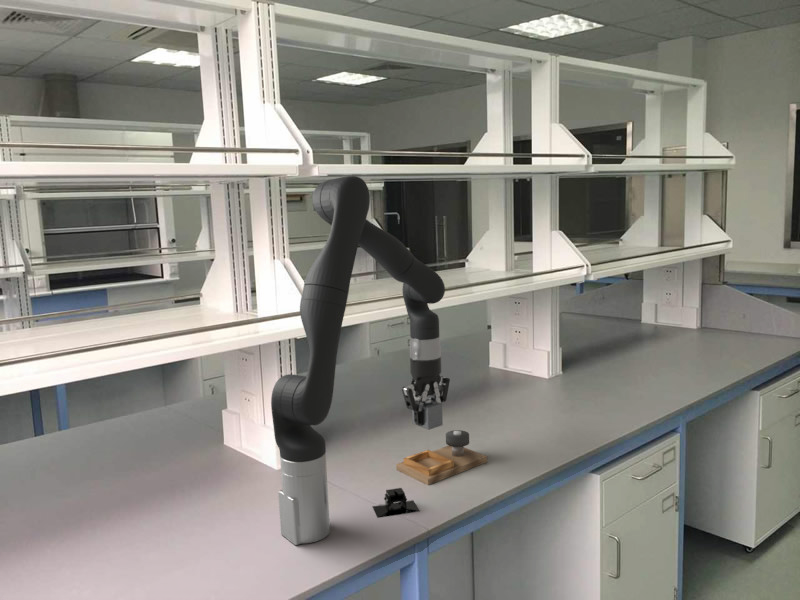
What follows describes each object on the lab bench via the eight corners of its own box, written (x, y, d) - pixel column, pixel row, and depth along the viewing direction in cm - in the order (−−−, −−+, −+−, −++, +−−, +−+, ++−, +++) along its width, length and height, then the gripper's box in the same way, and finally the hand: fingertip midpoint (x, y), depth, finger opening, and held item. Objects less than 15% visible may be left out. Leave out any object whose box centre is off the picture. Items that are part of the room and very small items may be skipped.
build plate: (371, 522, 141) (370, 502, 140) (364, 507, 148) (364, 488, 147) (427, 514, 144) (427, 494, 143) (418, 499, 151) (417, 480, 150)
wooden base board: (428, 485, 157) (427, 467, 156) (396, 469, 166) (396, 452, 165) (486, 461, 169) (486, 445, 168) (454, 448, 178) (454, 432, 178)
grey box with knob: (428, 429, 159) (427, 404, 158) (412, 423, 164) (411, 398, 163) (442, 425, 162) (441, 399, 161) (426, 419, 167) (425, 394, 166)
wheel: (457, 448, 166) (456, 438, 166) (441, 442, 171) (440, 432, 170) (474, 442, 170) (474, 432, 169) (457, 436, 174) (457, 426, 174)
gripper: (437, 347, 167) (438, 412, 170) (392, 357, 159) (395, 425, 161) (457, 352, 162) (458, 419, 164) (412, 363, 153) (414, 433, 156)
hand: (427, 422), depth 163 cm, fingers closed on grey box with knob, 4 cm apart
